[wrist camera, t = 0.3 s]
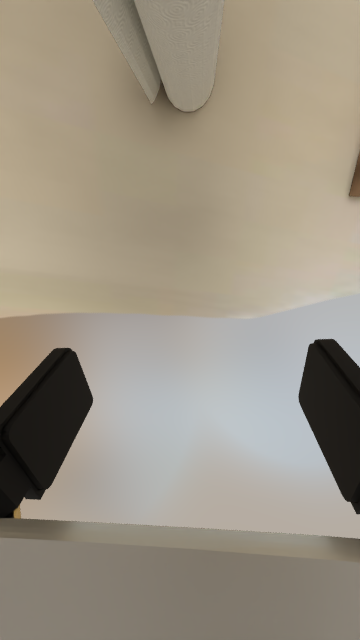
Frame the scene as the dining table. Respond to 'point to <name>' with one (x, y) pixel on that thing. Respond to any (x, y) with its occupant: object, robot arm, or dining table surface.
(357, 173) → the walnut stand
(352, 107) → the dining table surface
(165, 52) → the paper towel roll
